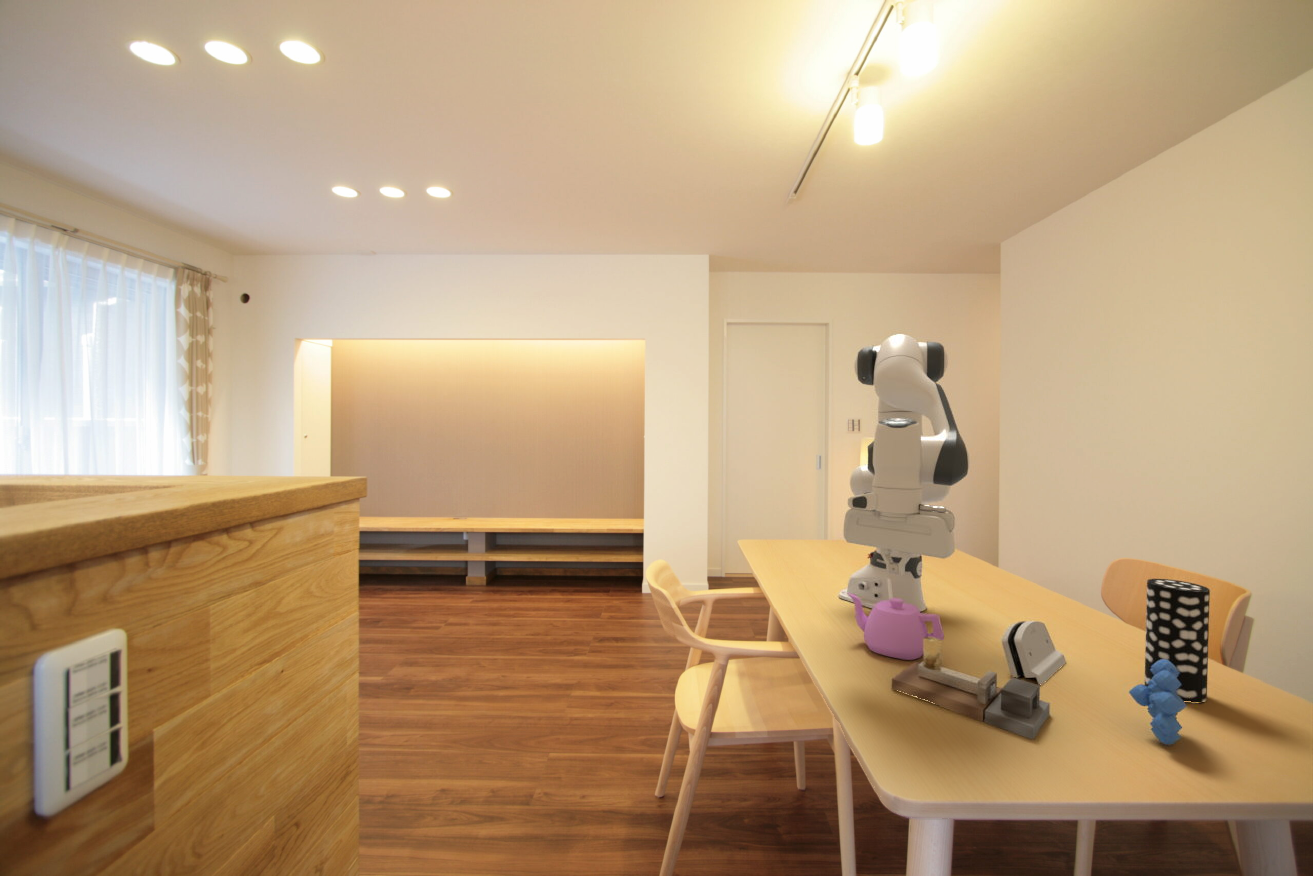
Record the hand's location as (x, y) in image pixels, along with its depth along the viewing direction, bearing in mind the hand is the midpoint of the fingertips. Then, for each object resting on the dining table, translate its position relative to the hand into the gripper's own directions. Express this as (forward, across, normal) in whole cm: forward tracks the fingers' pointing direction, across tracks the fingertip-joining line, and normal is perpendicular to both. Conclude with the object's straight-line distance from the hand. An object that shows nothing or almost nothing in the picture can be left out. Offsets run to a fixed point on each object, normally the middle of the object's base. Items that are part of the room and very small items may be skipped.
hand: (895, 573), depth 105 cm
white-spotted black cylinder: (+20, -38, -33) cm, 54 cm away
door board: (+20, -13, 0) cm, 24 cm away
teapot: (+21, +6, -14) cm, 25 cm away
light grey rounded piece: (+21, -17, -26) cm, 37 cm away
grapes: (+21, -37, -11) cm, 44 cm away
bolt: (+18, -11, 0) cm, 21 cm away
